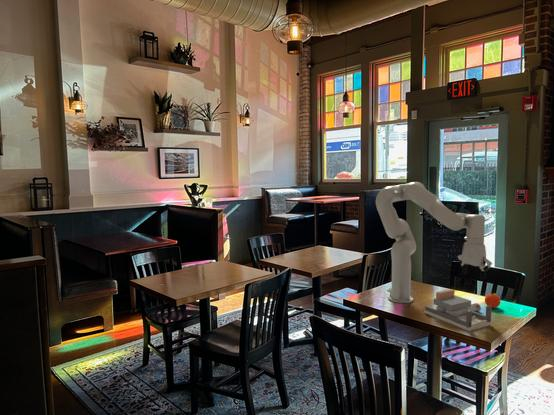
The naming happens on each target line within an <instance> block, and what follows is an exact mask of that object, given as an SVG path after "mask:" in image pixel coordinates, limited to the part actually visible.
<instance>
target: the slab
mask: <svg viewBox="0 0 554 415" xmlns="http://www.w3.org/2000/svg"><path fill="white" fill-rule="evenodd" d="M455 291H456V290H455V289H452V288H448V289H444V290H439V291H436V292H435V298H433V303H432V304H433V305H435V306H440V307H443V308H446V309H448V310H451V311H452V310H456V309H461V308H465V307H469V306H471V304H472V300H470V299H467V298H464V297H462V296H458V295H456V294H455Z"/></svg>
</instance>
